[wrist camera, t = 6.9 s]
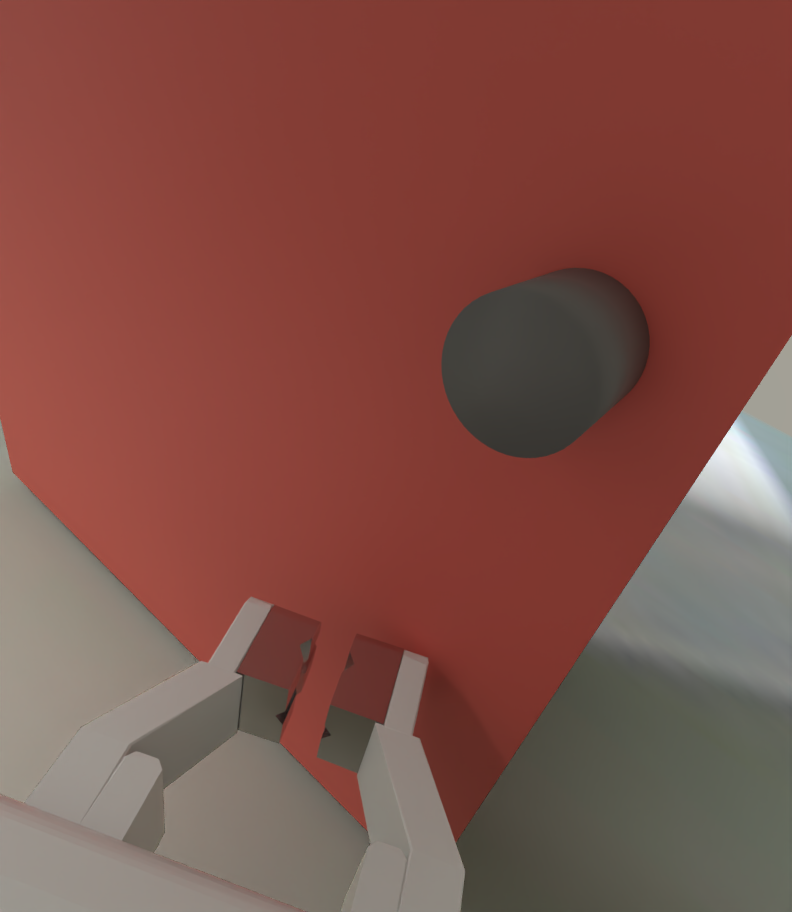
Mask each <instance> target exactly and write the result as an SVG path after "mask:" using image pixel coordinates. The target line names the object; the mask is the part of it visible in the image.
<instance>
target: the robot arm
mask: <svg viewBox="0 0 792 912" xmlns="http://www.w3.org/2000/svg"><path fill="white" fill-rule="evenodd" d="M320 628H321V622H320V621H317V620H314V619H311V618H309V617H306V616H303V615H301V614H298V613H295V612H292V611H290V610H287V609H284V608H282V607H279V606H276V605H274V604H271V603H268V602H265V601H262V600H259V599H257V598H254V597H250V598H249V599H248V600H247V601H246V602H245V603H244V605H243V606H242V608H241V610H240V611H239V613H238V615H237V616H236V618H235V620H234V621H233V623H232V624H231V626H230V628H229V629H228V631H227V633H226V634H225V636H224V638H223V639H222V641H221V643H220V644H219V646H218V647H217V649H216V651H215V652H214V654H213V656H212V657H211V659H210V661H209V662H208V663H207V662H204V661H199V662H198V663H196V664H194V665H192V666H190V667H189V668H187V669H185V670H183V671H181V672H180V673H178V674H176V675H174V676H172V677H171V678H169V679H167V680H165V681H163V682H162V683H160V684H158V685H156V686H154V687H152V688H151V689H149V690H147V691H145V692H143V693H142V694H140V695H138V696H136V697H134V698H133V699H131V700H129V701H127V702H125V703H124V704H122V705H120V706H118V707H116V708H115V709H113V710H111V711H109V712H107V713H106V714H104V715H102V716H100V717H98V718H96V719H95V720H93V721H91V722H89V723H87V724H86V725H84V726H82V727H80V729H79V730H78V731H77V733H76V734H75V735H74V737H73V738H72V739H71V741H70V742H69V743H68V745H67V746H66V747H65V749H64V750H63V751H62V753H61V754H60V755H59V757H58V758H57V759H56V761H55V762H54V763H53V765H52V766H51V767H50V769H49V770H48V771H47V773H46V774H45V775H44V777H43V778H42V779H41V781H40V782H39V783H38V785H37V786H36V787H35V789H34V790H33V791H32V793H31V794H30V795H29V797H28V798H27V799H26V801H25V802H24V803H23V802H20V801H17V800H15V799H12V798H10V797H7V796H4V795H2V794H0V912H306V911H303V910H301V909H298V908H296V907H293V906H290V905H288V904H285V903H283V902H280V901H277V900H275V899H272V898H270V897H267V896H264V895H262V894H259V893H257V892H254V891H251V890H249V889H246V888H244V887H241V886H238V885H236V884H233V883H231V882H228V881H225V880H223V879H220V878H218V877H215V876H213V875H210V874H207V873H205V872H202V871H200V870H197V869H194V868H192V867H189V866H187V865H184V864H181V863H179V862H176V861H174V860H171V859H168V858H166V857H163V856H161V855H158V854H155V853H154V852H155V850H156V848H157V847H158V845H159V843H160V841H161V839H162V837H163V835H164V833H165V823H164V798H163V789H164V788H166V787H167V786H168V785H170V784H171V783H172V782H174V781H175V780H176V779H177V778H179V777H180V776H181V775H183V774H184V773H185V772H187V771H188V770H189V769H190V768H192V767H193V766H194V765H196V764H197V763H198V762H200V761H201V760H202V759H203V758H205V757H206V756H207V755H209V754H210V753H211V752H213V751H214V750H215V749H216V748H218V747H219V746H220V745H222V744H223V743H224V742H226V741H227V740H228V739H230V738H231V737H232V736H233V735H235V734H236V733H237V730H240V731H243V732H246V733H249V734H252V735H255V736H258V737H261V738H264V739H267V740H270V741H273V742H276V743H280V740H281V738H282V736H283V733H284V731H285V729H286V726H287V724H288V722H289V719H290V717H291V715H292V713H293V708H294V703H295V699H296V695H297V694H299V693H300V692H301V691H302V689H303V686H304V684H305V682H306V679H307V676H308V674H309V671H310V668H311V665H312V662H313V659H314V655H315V651H316V647H317V646H316V645H315V642H316V640H317V638H318V635H319V633H320ZM403 650H404V649H403V648H400V647H397V646H394V645H391V644H388V643H385V642H382V641H379V640H376V639H373V638H370V637H366V636H363V635H360V634H356V636H355V639H354V641H353V644H352V646H351V649H350V652H349V655H348V659H347V662H346V666H345V669H344V671H343V672H342V673H341V676H340V679H339V682H338V684H337V687H336V690H335V693H334V696H333V698H332V701H331V704H330V707H329V711H328V714H327V718H326V722H325V729H324V732H323V735H322V737H321V741H320V745H319V749H318V753H317V758H320V759H322V760H325V761H328V762H330V763H333V764H335V765H338V766H340V767H343V768H345V769H348V770H350V771H353V772H355V773H358V774H357V779H358V784H359V789H360V794H361V799H362V804H363V809H364V814H365V820H366V825H367V830H368V835H369V840H370V845H369V846H368V847H367V849H366V852H365V854H364V856H363V858H362V861H361V863H360V865H359V867H358V869H357V872H356V874H355V876H354V878H353V881H352V883H351V885H350V887H349V889H348V892H347V894H346V896H345V898H344V901H343V905H342V908H341V912H460V911H461V902H462V894H463V885H464V877H465V869H464V866H463V863H462V860H461V857H460V854H459V851H458V848H457V846H456V843H455V840H454V837H453V834H452V831H451V828H450V825H449V822H448V819H447V816H446V813H445V810H444V808H443V805H442V802H441V799H440V796H439V793H438V790H437V787H436V784H435V781H434V778H433V775H432V772H431V769H430V767H429V764H428V761H427V758H426V755H425V752H424V749H423V746H422V743H421V740H420V738H417V737H415V736H413V732H414V727H415V723H416V718H417V714H418V709H419V705H420V700H421V696H422V691H423V687H424V682H425V678H426V673H427V669H428V664H429V661H428V657H425V656H422V655H419V654H416V653H413V652H410V651H407V650H404V651H403Z"/></svg>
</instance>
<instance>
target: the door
mask: <svg viewBox="0 0 792 912" xmlns="http://www.w3.org/2000/svg"><path fill="white" fill-rule="evenodd" d="M791 335H792V0H0V419H1V423H2V428H3V432H4V436H5V441H6V445H7V449H8V454H9V458H10V462H11V467H12V471H13V473H14V474H15V475H16V476H17V477H18V478H19V479H20V480H21V481H22V482H23V483H24V484H25V485H26V486H27V487H28V488H29V489H30V490H31V491H32V492H33V493H34V494H35V495H36V496H37V497H38V498H39V499H40V500H41V501H42V502H43V503H44V504H45V505H46V506H47V507H48V508H49V509H50V510H51V511H52V512H53V513H54V514H55V515H56V516H57V517H58V518H59V519H60V520H61V521H62V522H63V524H64V525H65V526H66V527H67V528H68V529H69V530H70V531H71V532H72V533H73V534H74V535H75V536H76V537H77V538H78V539H79V540H80V541H81V542H82V543H83V544H84V545H85V546H86V547H87V548H88V549H89V550H90V551H91V552H92V553H93V554H94V555H95V556H96V557H97V558H98V559H99V560H100V561H101V562H102V563H103V564H104V565H105V566H106V567H107V568H108V569H109V570H110V571H111V572H112V573H113V574H114V575H115V576H116V577H117V578H118V579H119V580H120V581H121V582H122V583H123V584H124V585H125V586H126V587H127V588H128V589H129V590H130V591H131V592H132V593H133V594H134V595H135V596H136V597H137V598H138V599H139V600H140V601H141V602H142V603H143V604H144V605H145V606H146V607H147V608H148V610H149V611H150V612H151V613H152V614H153V615H154V616H155V617H156V618H157V619H158V620H159V621H160V622H161V623H162V624H163V625H164V626H165V627H166V628H167V629H168V630H169V631H170V632H171V633H172V634H173V635H174V636H175V637H176V638H177V639H178V640H179V641H180V642H181V643H182V644H183V645H184V646H185V647H186V648H187V649H188V650H189V651H190V652H191V653H192V654H193V655H194V656H195V657H196V658H197V659H198V660H199V661H204V662H207V663H208V662H209V661H210V659H211V657H212V656H213V654H214V652H215V651H216V649H217V647H218V646H219V644H220V643H221V641H222V639H223V638H224V636H225V634H226V633H227V631H228V629H229V628H230V626H231V624H232V623H233V621H234V620H235V618H236V616H237V615H238V613H239V611H240V610H241V608H242V606H243V605H244V603H245V602H246V601H247V600H248V599H249V598H250V597H254V598H257V599H259V600H262V601H265V602H268V603H271V604H274V605H276V606H279V607H282V608H284V609H287V610H290V611H292V612H295V613H298V614H301V615H303V616H306V617H309V618H311V619H314V620H317V621H320V622H321V628H320V633H319V635H318V638H317V640H316V642H315V645H316V646H317V647H316V651H315V655H314V659H313V662H312V665H311V668H310V671H309V674H308V676H307V679H306V682H305V684H304V686H303V689H302V691H301V692H300V693H299V694H297V695H296V699H295V703H294V708H293V713H292V715H291V717H290V719H289V722H288V724H287V726H286V729H285V731H284V733H283V736H282V738H281V740H280V743H281V744H282V745H283V746H284V747H285V748H286V749H287V750H288V751H289V752H290V753H291V754H292V755H293V756H294V757H295V758H296V759H297V760H298V761H299V762H300V763H301V764H302V765H303V766H304V767H305V768H306V769H307V770H308V771H309V772H310V773H311V774H312V775H313V776H314V777H315V778H316V779H317V780H318V782H319V783H320V784H321V785H322V786H323V787H324V788H325V789H326V790H327V791H328V792H329V793H330V794H331V795H332V796H333V797H334V798H335V799H336V800H337V801H338V802H339V803H340V804H341V805H342V806H343V807H344V808H345V809H346V810H347V811H348V812H349V813H350V814H351V815H352V816H353V817H354V818H355V819H356V820H357V821H358V822H359V823H360V824H361V825H362V826H363V827H364V828H365V829H366V830H367V825H366V820H365V814H364V809H363V804H362V799H361V794H360V789H359V784H358V779H357V774H358V773H355V772H353V771H350V770H348V769H345V768H343V767H340V766H338V765H335V764H333V763H330V762H328V761H325V760H322V759H320V758H317V753H318V749H319V745H320V741H321V737H322V735H323V732H324V729H325V722H326V718H327V714H328V711H329V707H330V704H331V701H332V698H333V696H334V693H335V690H336V687H337V684H338V682H339V679H340V676H341V673H342V672H343V671H344V669H345V666H346V662H347V659H348V655H349V652H350V649H351V646H352V644H353V641H354V639H355V636H356V634H360V635H363V636H366V637H370V638H373V639H376V640H379V641H382V642H385V643H388V644H391V645H394V646H397V647H400V648H403V649H404V650H407V651H410V652H413V653H416V654H419V655H422V656H425V657H428V661H429V664H428V669H427V673H426V678H425V682H424V687H423V691H422V696H421V700H420V705H419V709H418V714H417V718H416V723H415V727H414V732H413V736H415V737H417V738H420V740H421V743H422V746H423V749H424V752H425V755H426V758H427V761H428V764H429V767H430V769H431V772H432V775H433V778H434V781H435V784H436V787H437V790H438V793H439V796H440V799H441V802H442V805H443V808H444V810H445V813H446V816H447V819H448V822H449V825H450V828H451V831H452V834H453V837H454V840H455V843H456V842H457V840H458V839H459V837H460V836H461V834H462V833H463V831H464V830H465V828H466V827H467V825H468V824H469V822H470V820H471V819H472V817H473V816H474V814H475V813H476V811H477V810H478V808H479V807H480V805H481V804H482V802H483V801H484V799H485V798H486V796H487V795H488V793H489V792H490V790H491V789H492V787H493V786H494V784H495V783H496V781H497V780H498V778H499V777H500V775H501V774H502V772H503V771H504V769H505V768H506V766H507V765H508V763H509V762H510V760H511V759H512V757H513V756H514V754H515V752H516V751H517V749H518V748H519V746H520V745H521V743H522V742H523V740H524V739H525V737H526V736H527V734H528V733H529V731H530V730H531V728H532V727H533V725H534V724H535V722H536V721H537V719H538V718H539V716H540V715H541V713H542V712H543V710H544V709H545V707H546V706H547V704H548V703H549V701H550V700H551V698H552V697H553V695H554V694H555V692H556V691H557V689H558V688H559V686H560V684H561V683H562V681H563V680H564V678H565V677H566V675H567V674H568V672H569V671H570V669H571V668H572V666H573V665H574V663H575V662H576V660H577V659H578V657H579V656H580V654H581V653H582V651H583V650H584V648H585V647H586V645H587V644H588V642H589V641H590V639H591V638H592V636H593V635H594V633H595V632H596V630H597V629H598V627H599V626H600V624H601V623H602V621H603V620H604V618H605V616H606V615H607V613H608V612H609V610H610V609H611V607H612V606H613V604H614V603H615V601H616V600H617V598H618V597H619V595H620V594H621V592H622V591H623V589H624V588H625V586H626V585H627V583H628V582H629V580H630V579H631V577H632V576H633V574H634V573H635V571H636V570H637V568H638V567H639V565H640V564H641V562H642V561H643V559H644V558H645V556H646V555H647V553H648V552H649V550H650V548H651V547H652V545H653V544H654V542H655V541H656V539H657V538H658V536H659V535H660V533H661V532H662V530H663V529H664V527H665V526H666V524H667V523H668V521H669V520H670V518H671V517H672V515H673V514H674V512H675V511H676V509H677V508H678V506H679V505H680V503H681V502H682V500H683V499H684V497H685V496H686V494H687V493H688V491H689V490H690V488H691V487H692V485H693V484H694V482H695V480H696V479H697V477H698V476H699V474H700V473H701V471H702V470H703V468H704V467H705V465H706V464H707V462H708V461H709V459H710V458H711V456H712V455H713V453H714V452H715V450H716V449H717V447H718V446H719V444H720V443H721V441H722V440H723V438H724V437H725V435H726V434H727V432H728V431H729V429H730V428H731V426H732V425H733V423H734V422H735V420H736V419H737V417H738V416H739V414H740V412H741V411H742V409H743V408H744V406H745V405H746V403H747V402H748V400H749V399H750V397H751V396H752V394H753V393H754V391H755V390H756V388H757V387H758V385H759V384H760V382H761V381H762V379H763V377H764V376H765V375H766V373H767V372H768V370H769V369H770V367H771V366H772V364H773V363H774V361H775V359H776V358H777V357H778V355H779V354H780V352H781V351H782V349H783V348H784V346H785V344H786V343H787V341H788V340H789V338H790V337H791ZM404 650H403V651H404ZM367 831H368V830H367Z"/></svg>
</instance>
